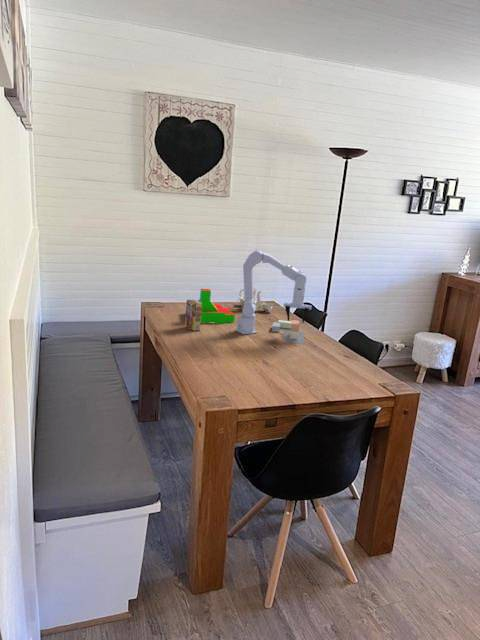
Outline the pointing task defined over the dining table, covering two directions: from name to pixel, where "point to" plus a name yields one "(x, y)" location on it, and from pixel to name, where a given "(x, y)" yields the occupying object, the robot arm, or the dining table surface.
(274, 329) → the slate brick
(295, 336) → the cream brick
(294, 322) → the terracotta brick
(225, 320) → the building blocks toy
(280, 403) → the dining table surface
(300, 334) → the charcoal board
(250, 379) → the dining table surface
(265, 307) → the chinaware
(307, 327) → the dining table surface
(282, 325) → the sage brick
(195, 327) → the candy box
